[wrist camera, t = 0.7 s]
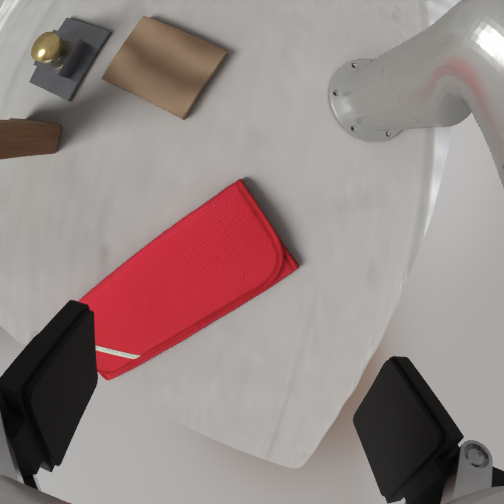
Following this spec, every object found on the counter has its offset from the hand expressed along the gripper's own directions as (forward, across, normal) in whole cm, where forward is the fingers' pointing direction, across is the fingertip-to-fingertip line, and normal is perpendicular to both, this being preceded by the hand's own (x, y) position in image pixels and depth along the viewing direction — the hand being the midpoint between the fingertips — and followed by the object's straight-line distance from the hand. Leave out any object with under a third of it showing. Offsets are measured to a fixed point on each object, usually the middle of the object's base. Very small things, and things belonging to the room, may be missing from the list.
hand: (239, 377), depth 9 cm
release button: (+29, +31, -18) cm, 46 cm away
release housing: (+35, +31, -18) cm, 50 cm away
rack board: (+35, +14, -17) cm, 41 cm away
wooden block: (+35, +33, -5) cm, 48 cm away
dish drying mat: (+36, +8, +17) cm, 40 cm away
